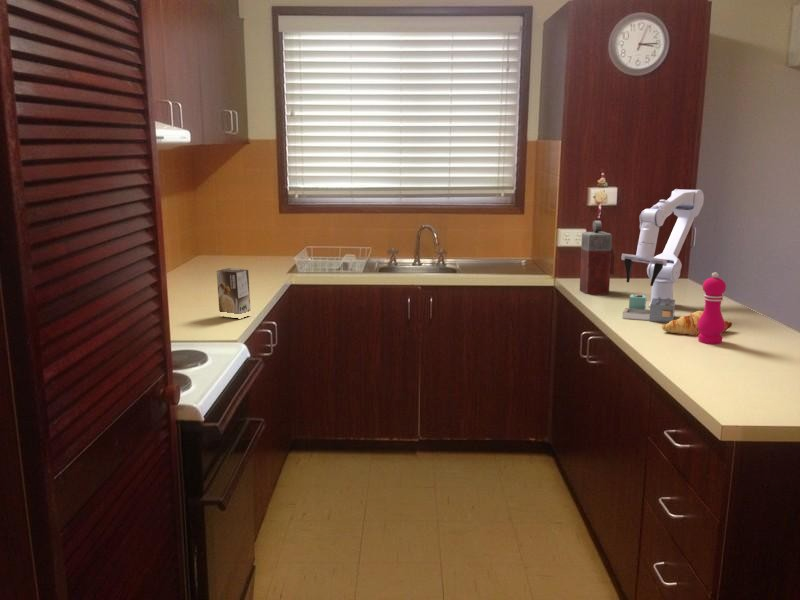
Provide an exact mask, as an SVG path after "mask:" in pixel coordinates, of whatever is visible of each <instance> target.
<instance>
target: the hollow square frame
mask: <svg viewBox="0 0 800 600" xmlns="http://www.w3.org/2000/svg"><path fill="white" fill-rule="evenodd" d="M650 302H651V301H650ZM649 304H650V303H649ZM675 310H676V299H673V300H672V299H670V298H667V299H661V298H660V297H658V299H656V298H653V300H652V302H651V304H650V307H649V309H648V308H646V309H633V308H629V307H625V308H624V310H623V312H622V316H621V317H622V319H624V320H626V319H627V320H637V321H638V320H639V321H649V322H656V323H666V322H670V321H672V320H675V319H674V318H675Z"/></svg>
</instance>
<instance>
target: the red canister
mask: <svg viewBox="0 0 800 600" xmlns="http://www.w3.org/2000/svg"><path fill="white" fill-rule="evenodd" d="M602 228H603V227H602V221H601V220H593V221H592V230H593V231H583V232H582V233H581V246H580V247H581V249H580V271H579V272H580V274H579V291H580V292H581V293H583V294H585V295H586V294H593V295H609V294H610V282H611V281H610V279H611V276H612V275H615V272H616V271H615V269H616V264H615V263H616V253H615V250H614V248H612V240H613V236H612V233H610V232H606V231H602Z"/></svg>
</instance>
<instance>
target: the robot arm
mask: <svg viewBox="0 0 800 600" xmlns="http://www.w3.org/2000/svg"><path fill="white" fill-rule="evenodd" d="M704 194H705V193H704V192H703V190H701V189H679V188H675V189H674V190H672V191H671V194H670V197H669V198H667V199H659V201H658V202H657V203H656V204H653V205H652V207H650V208H645V209H644V210H642V211H641V213H640V214H639V230H640V232H639V238H638V242H637V249H636V254H628V253H621V261H623V262H624V267H625V272H626V283H630V277H631V271H632V266H633V262H635V263H644V264H647V267H646V273H647V276H648V278H649V279H650V280H649V281H650V287H651V293H650V294H651V295H650V302H649V305H648V307H649V308H650V304H651V302H652V300H653V298H656V299H658V297H660V298H661V299H667V298H670V299H672V300H674V299H673V298H674V286H675V285H674V284H675V282H677V281H678V280H679V278H680V276H681V270H682V266H683V265H682V262H681V260H680V258H679V255H680V252H681V250H682V248H683V245H684V243H685V240H686V238H687V235H688V233H689V232H690V229H691V227H692V225H693V222H694V221H695V218H696V217H698V216H699V214H700V212H701V210H702V208H703V206H704V201H705V200H704V199H705V196H704ZM672 214H673V215H674V216H676V217H677V219H676V222H675V224H674V226H673V228H672V231H671V233H670V235H669V238H668V240H667V243H666V244H665V247H664V249H663V251H662V253H659V254H657V255H655V252H656V247H657V242H658V237H659V231H660V227H662V226H663V225H664V223H665V220H666V219H667V218H668V217H669V216H670V215H672Z"/></svg>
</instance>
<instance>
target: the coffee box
mask: <svg viewBox="0 0 800 600" xmlns="http://www.w3.org/2000/svg"><path fill="white" fill-rule="evenodd" d="M216 282H217V297H218V308H219V309H218V311H220V312H227V313H234V314H242V313H246V312H249V311H251V310H252V309H251V295H250V279H249V269H243V268H229V267H227V268H223V269H220V270H219V269H218V270H216ZM251 312H252V311H251Z"/></svg>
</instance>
